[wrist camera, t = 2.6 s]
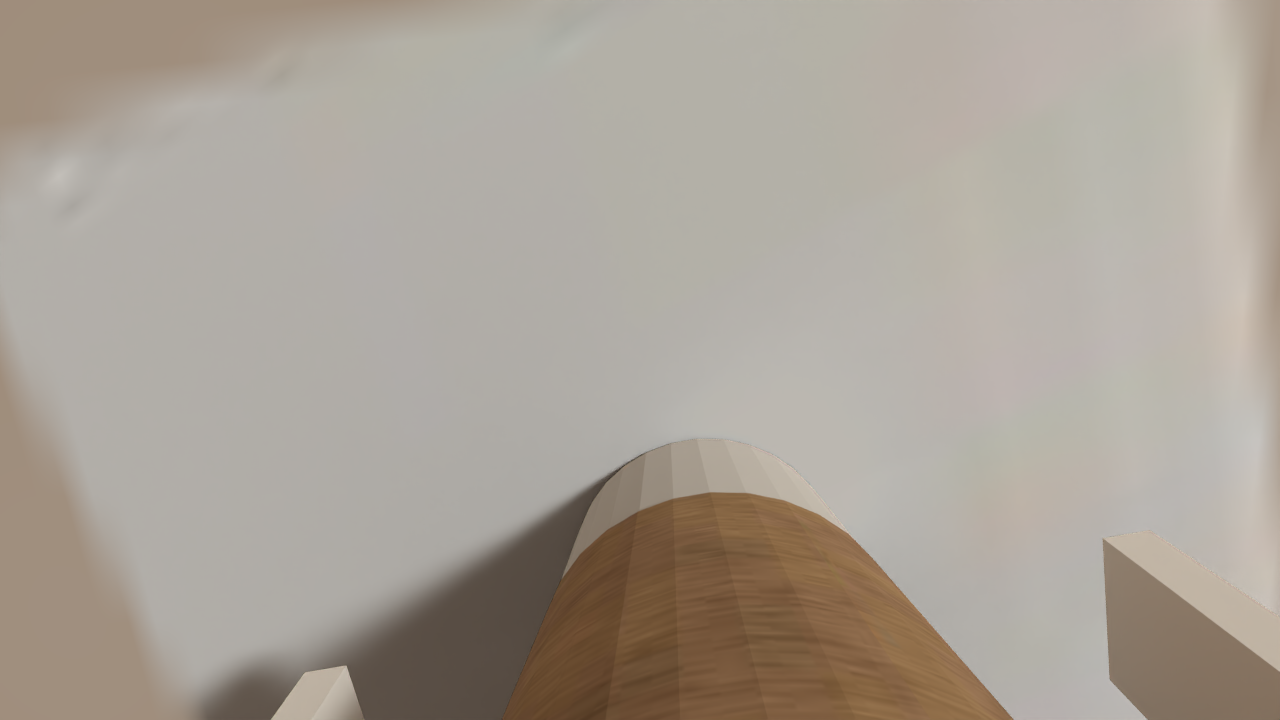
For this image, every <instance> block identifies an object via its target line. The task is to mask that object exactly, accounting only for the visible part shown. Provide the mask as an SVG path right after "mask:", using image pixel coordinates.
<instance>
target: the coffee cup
mask: <svg viewBox="0 0 1280 720" xmlns="http://www.w3.org/2000/svg"><path fill="white" fill-rule="evenodd" d="M502 720H1013V718H1012V717H1011V716H1010V715H1009V714H1008V713H1007V712H1006V710H1005V709H1004V708H1003V707H1002V706H1001V705H1000V704H999V702H998V701H997V700H996V699H995V698H994V697H993V696H992V694H991V693H990V692H989V691H988V690H987V689H986V688H985V686H984V685H983V684H982V683H981V682H980V681H979V680H978V678H977V677H976V676H975V675H974V674H973V673H972V672H971V670H970V669H969V668H968V667H967V666H966V665H965V664H964V662H963V661H962V660H961V659H960V658H959V657H958V656H957V654H956V653H955V652H954V651H953V650H952V649H951V648H950V646H949V645H948V644H947V643H946V642H945V641H944V640H943V638H942V637H941V636H940V635H939V634H938V633H937V632H936V630H935V629H934V628H933V627H932V626H931V625H930V624H929V622H928V621H927V620H926V619H925V618H924V617H923V616H922V614H921V613H920V612H919V611H918V610H917V609H916V608H915V606H914V605H913V604H912V603H911V602H910V601H909V600H908V598H907V597H906V596H905V595H904V594H903V593H902V592H901V590H900V589H899V588H898V587H897V586H896V585H895V584H894V582H893V581H892V580H891V579H890V578H889V577H888V576H887V574H886V573H885V572H884V571H883V570H882V569H881V568H880V566H879V565H878V564H877V563H876V562H875V561H874V560H873V558H872V557H871V556H870V555H869V554H868V553H867V552H866V551H865V550H864V549H863V548H862V547H861V546H860V545H859V544H858V543H857V542H856V541H855V540H854V539H853V537H852V536H851V535H850V534H849V532H848V531H847V530H846V529H845V527H844V526H843V525H842V524H841V522H840V521H839V520H838V519H837V517H836V516H835V515H834V514H833V512H832V511H831V510H830V509H829V507H828V506H827V505H826V503H825V502H824V501H823V500H822V499H821V497H820V496H819V495H818V494H817V492H816V491H815V490H814V489H813V488H812V487H811V486H810V485H809V484H808V483H807V482H806V481H805V480H804V479H803V478H802V477H801V476H800V475H799V474H798V473H797V472H796V471H795V470H794V469H793V468H792V467H791V466H789V465H788V464H786V463H785V462H783V461H782V460H780V459H779V458H777V457H776V456H774V455H773V454H770V453H768V452H765V451H763V450H761V449H758V448H756V447H753V446H751V445H748V444H744V443H739V442H734V441H729V440H724V439H692V440H687V441H681V442H675V443H670V444H668V445H665V446H662V447H660V448H657V449H654V450H652V451H649V452H646V453H645V454H643V455H642V456H640V457H638V458H637V459H635V460H633V461H632V462H630V463H628V464H627V465H625V466H624V467H623V468H622V469H621V470H619V471H618V472H617V473H616V474H615V475H614V476H613V477H612V478H611V479H610V480H608V481H607V482H606V484H605V485H604V486H603V488H602V489H601V490H600V492H599V493H598V495H597V496H596V497H595V499H594V500H593V502H592V503H591V505H590V507H589V510H588V512H587V514H586V516H585V519H584V521H583V523H582V525H581V528H580V530H579V533H578V535H577V538H576V541H575V543H574V546H573V549H572V552H571V554H570V557H569V560H568V563H567V565H566V568H565V571H564V574H563V576H562V579H561V581H560V583H559V585H558V588H557V590H556V592H555V595H554V597H553V599H552V601H551V604H550V606H549V608H548V610H547V613H546V615H545V617H544V620H543V622H542V625H541V627H540V629H539V632H538V634H537V637H536V639H535V641H534V644H533V646H532V649H531V651H530V653H529V656H528V658H527V660H526V663H525V665H524V668H523V670H522V672H521V675H520V677H519V680H518V682H517V684H516V687H515V689H514V692H513V694H512V696H511V699H510V701H509V704H508V706H507V708H506V711H505V713H504V716H503V718H502Z"/></svg>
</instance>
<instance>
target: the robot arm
mask: <svg viewBox="0 0 1280 720" xmlns="http://www.w3.org/2000/svg"><path fill="white" fill-rule="evenodd" d="M1103 554H1104V574H1105V594H1106V614H1107V635H1108V655H1109V675H1110V680H1111V681H1112V683H1113V684H1114V685H1115V686H1116V687H1117V688H1118V689H1119V690H1120V691H1121V692H1122V693H1123V694H1124V695H1125V696H1126V697H1127V698H1128V699H1129V700H1130V701H1131V702H1132V704H1133V705H1134V706H1135V707H1136V708H1137V709H1138V710H1139V711H1140V712H1141V713H1142V714H1143V715H1144V716H1145V717H1146V718H1147V719H1148V720H1280V617H1279V616H1277V615H1276V614H1274V613H1273V612H1271V611H1270V610H1268V609H1267V608H1265V607H1264V606H1263V605H1261V604H1260V603H1258V602H1257V601H1255V600H1254V599H1252V598H1251V597H1249V596H1248V595H1246V594H1245V593H1243V592H1242V591H1240V590H1239V589H1237V588H1236V587H1234V586H1233V585H1231V584H1230V583H1228V582H1227V581H1225V580H1224V579H1222V578H1221V577H1219V576H1218V575H1216V574H1215V573H1213V572H1212V571H1210V570H1209V569H1207V568H1206V567H1204V566H1203V565H1201V564H1200V563H1198V562H1197V561H1195V560H1194V559H1192V558H1191V557H1189V556H1188V555H1186V554H1185V553H1183V552H1182V551H1180V550H1179V549H1177V548H1176V547H1174V546H1173V545H1171V544H1170V543H1168V542H1167V541H1165V540H1164V539H1162V538H1161V537H1159V536H1158V535H1156V534H1155V533H1153V532H1152V531H1150V530H1148V531H1142V532H1136V533H1130V534H1125V535H1119V536H1113V537H1107V538H1103ZM271 720H364V717H363V714H362V711H361V708H360V705H359V702H358V699H357V696H356V693H355V690H354V687H353V684H352V681H351V678H350V675H349V672H348V669H347V666H340V667H334V668H328V669H322V670H316V671H310V672H305V673H304V674H303V676H302V677H301V678H300V680H299V681H298V683H297V684H296V685H295V687H294V688H293V690H292V691H291V692H290V694H289V695H288V697H287V698H286V699H285V701H284V702H283V703H282V705H281V706H280V708H279V709H278V710H277V712H276V713H275V715H274V716H273V717H272V719H271Z"/></svg>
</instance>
